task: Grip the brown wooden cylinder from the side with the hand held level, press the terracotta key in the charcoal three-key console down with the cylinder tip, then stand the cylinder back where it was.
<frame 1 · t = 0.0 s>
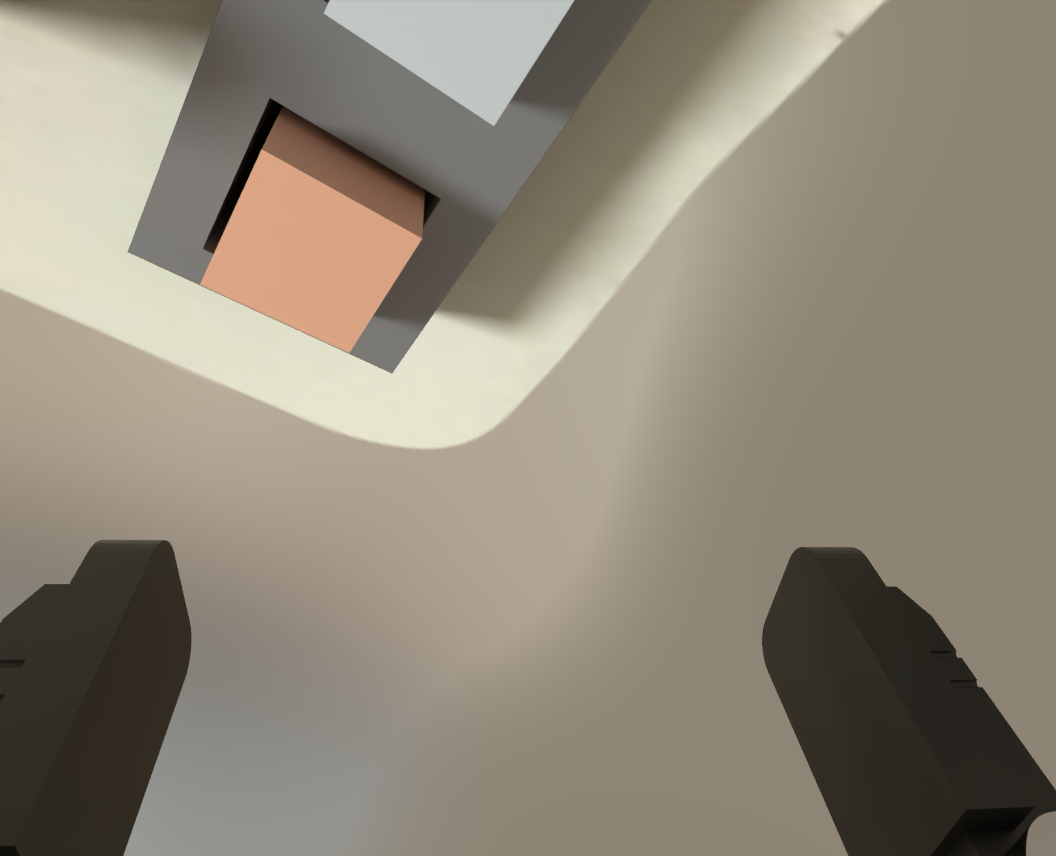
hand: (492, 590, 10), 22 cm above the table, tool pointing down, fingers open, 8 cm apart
terracotta key: (319, 227, 24), point 5 cm above the table, slide at 0.0 cm
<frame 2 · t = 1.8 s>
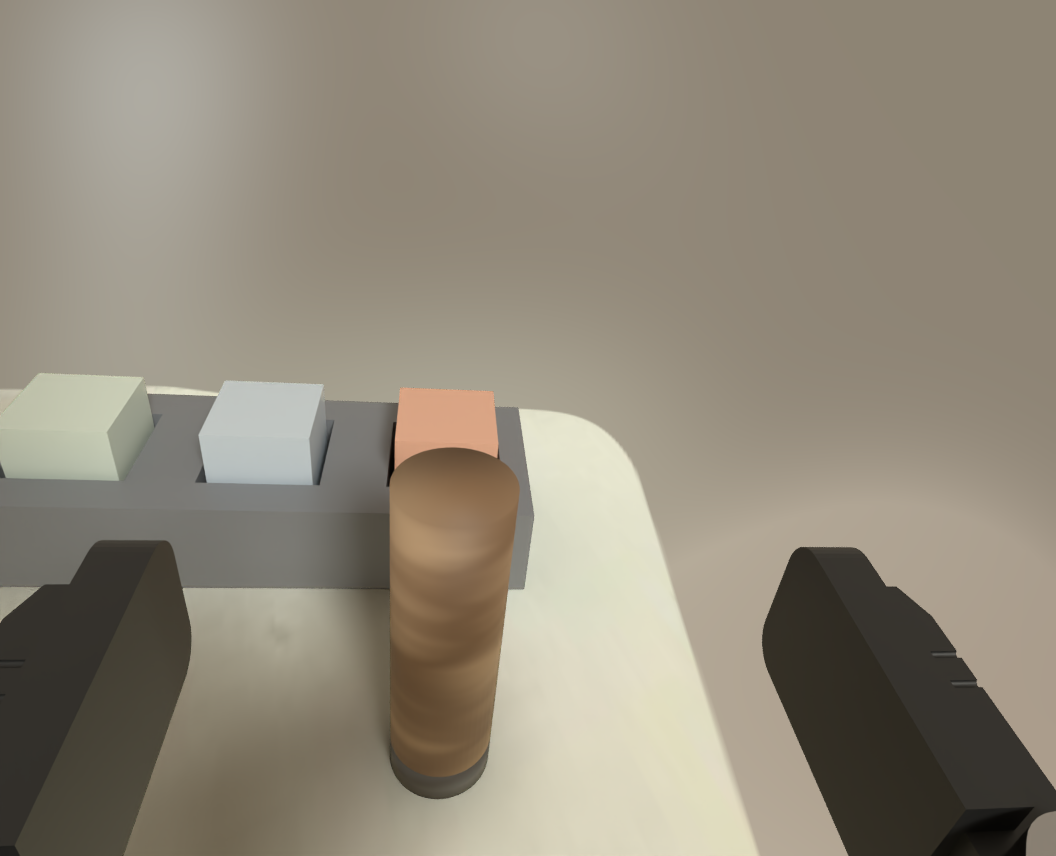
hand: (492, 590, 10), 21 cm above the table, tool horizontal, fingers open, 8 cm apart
sage key: (81, 439, 37), point 5 cm above the table, slide at 0.0 cm
key console: (278, 522, 41), on the table
terracotta key: (445, 450, 39), point 5 cm above the table, slide at 0.0 cm
brown wooden cylinder: (439, 751, 30), on the table
grey-blue key: (269, 445, 38), point 5 cm above the table, slide at 0.0 cm
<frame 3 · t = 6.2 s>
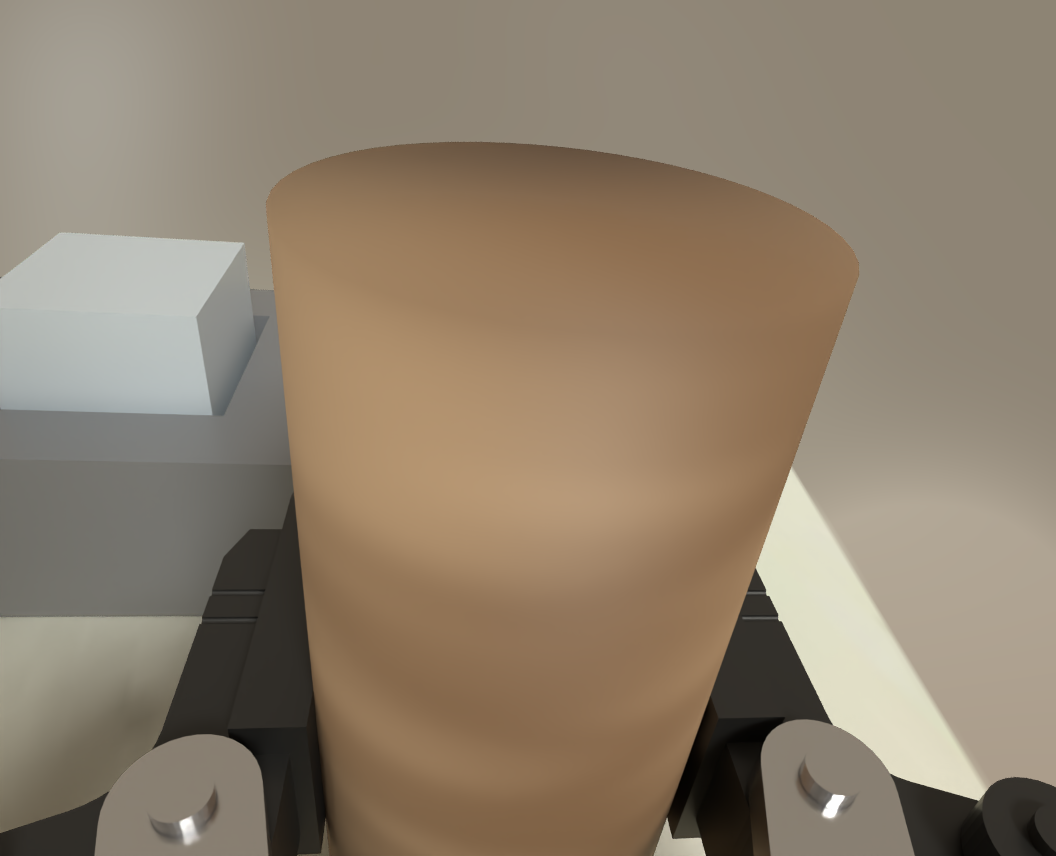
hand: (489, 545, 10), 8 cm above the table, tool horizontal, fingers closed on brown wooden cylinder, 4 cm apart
key console: (171, 496, 23), on the table
grey-blue key: (138, 348, 20), point 5 cm above the table, slide at 0.0 cm
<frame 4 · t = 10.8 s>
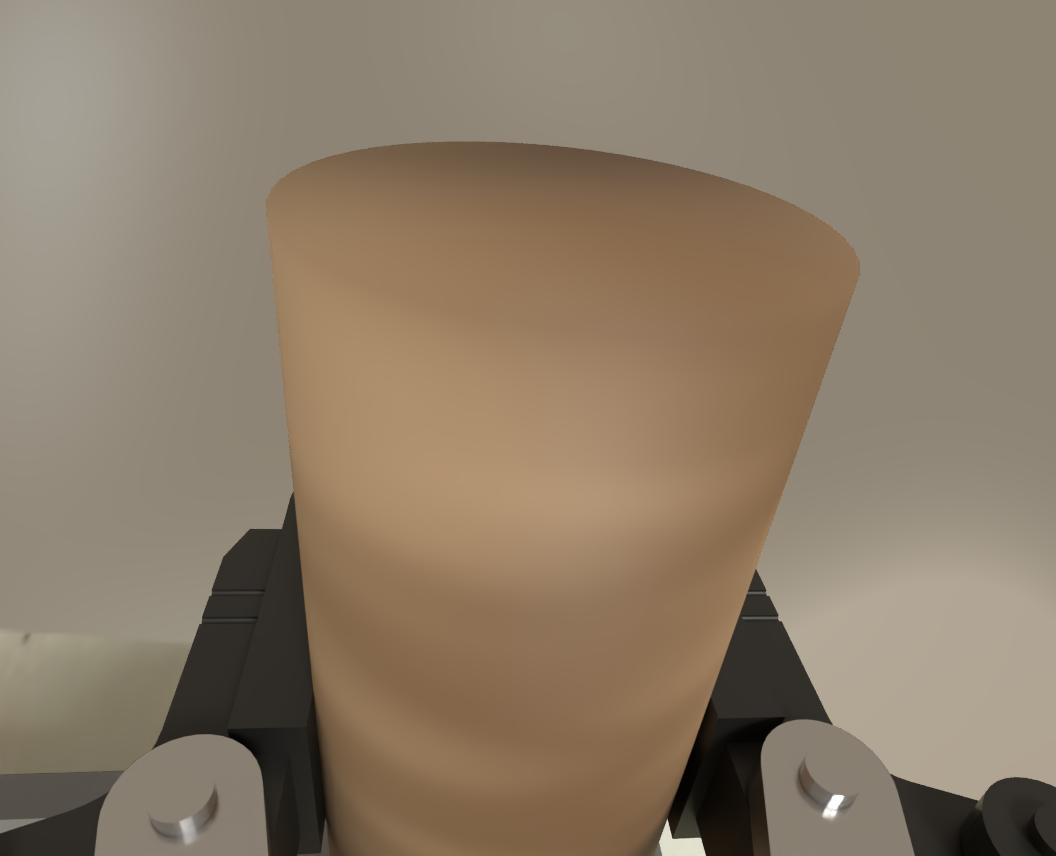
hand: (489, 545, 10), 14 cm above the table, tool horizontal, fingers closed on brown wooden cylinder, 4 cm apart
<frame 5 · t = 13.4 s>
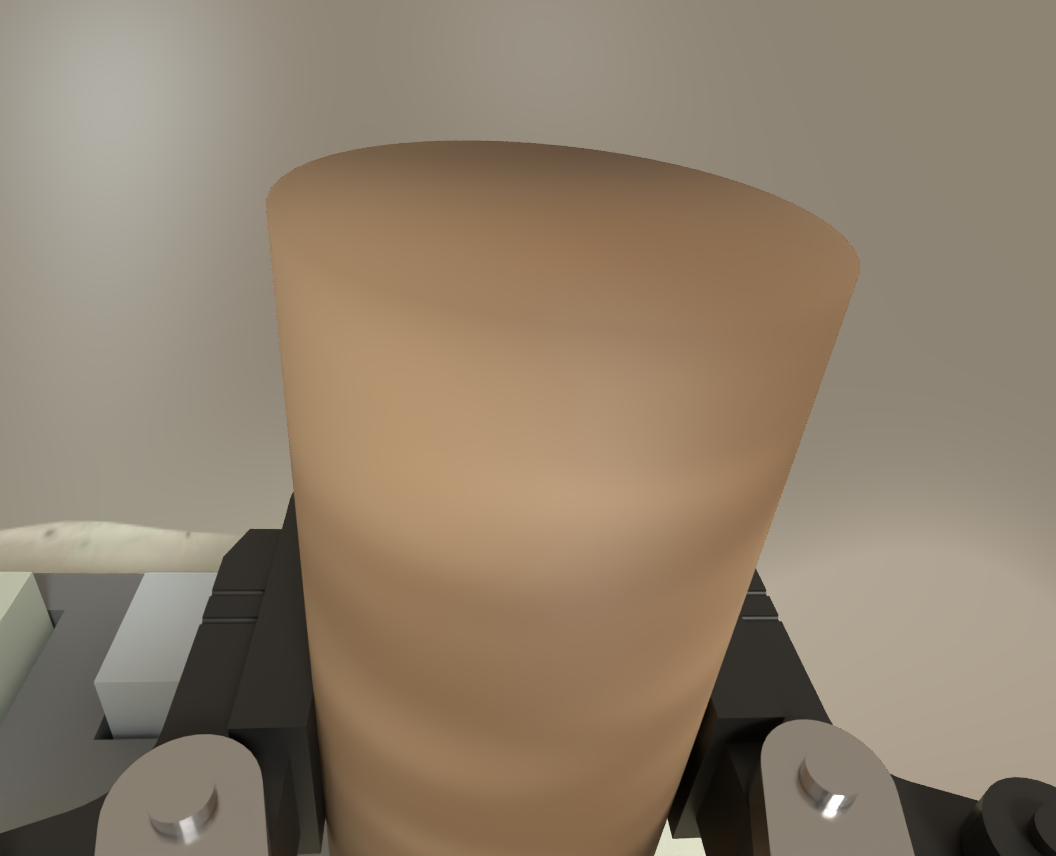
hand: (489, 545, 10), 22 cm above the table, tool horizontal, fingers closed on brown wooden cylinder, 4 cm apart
key console: (223, 746, 30), on the table
grey-blue key: (205, 663, 28), point 5 cm above the table, slide at 0.0 cm
when the fingers open (10 cm above the table, at t = 15.9 s): brown wooden cylinder drops 1 cm, on the table.
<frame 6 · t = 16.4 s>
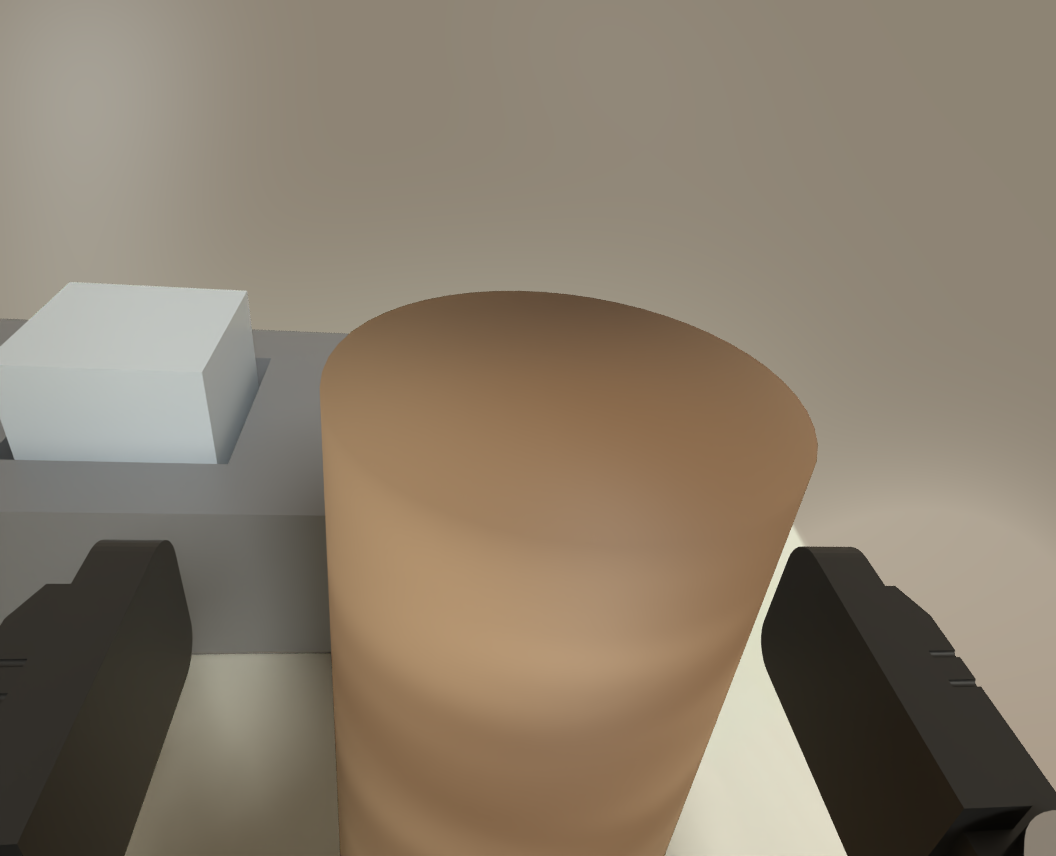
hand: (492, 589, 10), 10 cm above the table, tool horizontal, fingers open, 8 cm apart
key console: (176, 533, 24), on the table
grey-blue key: (145, 394, 21), point 5 cm above the table, slide at 0.0 cm
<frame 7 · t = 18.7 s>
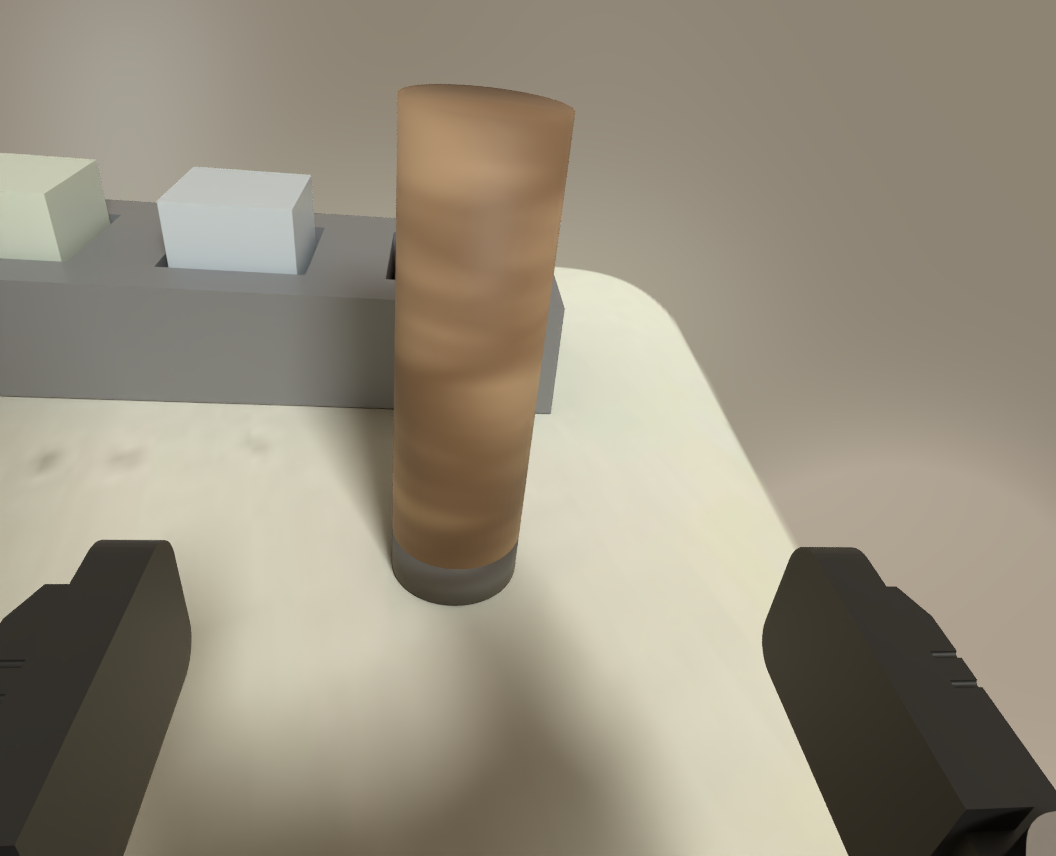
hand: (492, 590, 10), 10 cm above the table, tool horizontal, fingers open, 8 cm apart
sage key: (20, 226, 31), point 5 cm above the table, slide at 0.0 cm
key console: (258, 348, 35), on the table
brown wooden cylinder: (453, 560, 24), on the table
grey-blue key: (246, 239, 32), point 5 cm above the table, slide at 0.0 cm
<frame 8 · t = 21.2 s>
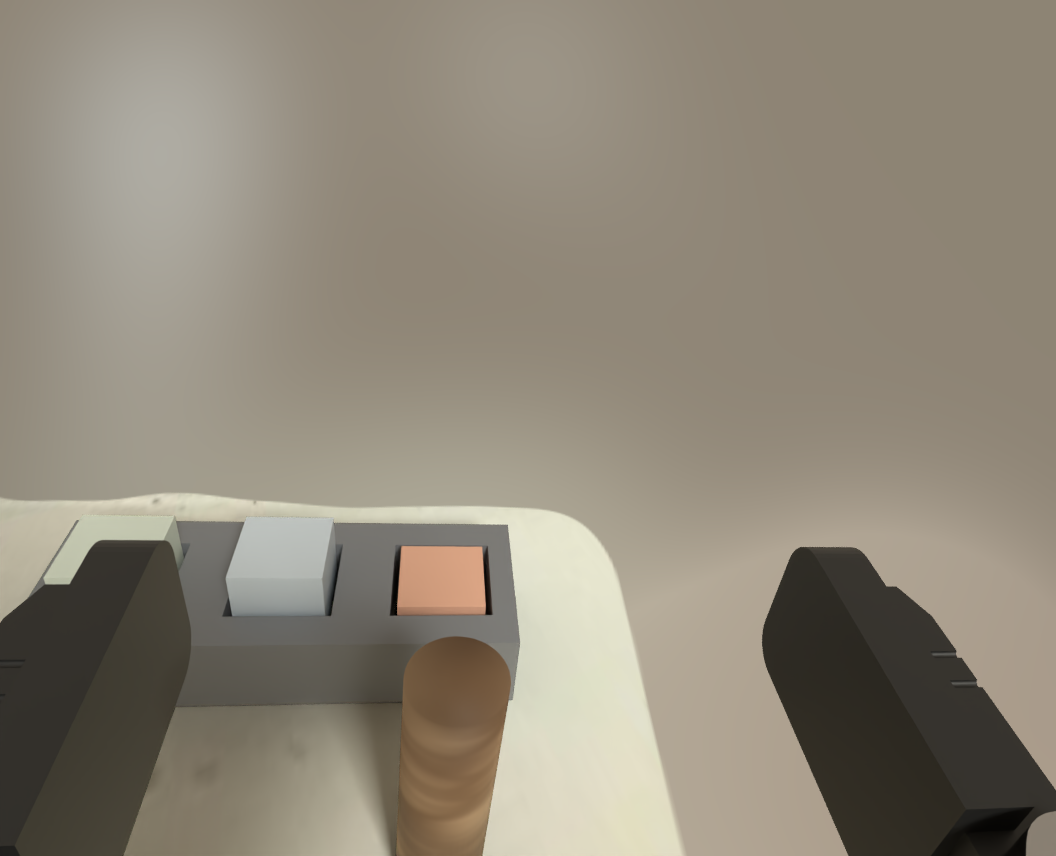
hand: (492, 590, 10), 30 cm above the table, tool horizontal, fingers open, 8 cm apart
sage key: (121, 574, 42), point 5 cm above the table, slide at 0.0 cm
key console: (293, 636, 46), on the table
terracotta key: (440, 601, 45), point 3 cm above the table, slide at 2.2 cm
grey-blue key: (286, 575, 43), point 5 cm above the table, slide at 0.0 cm
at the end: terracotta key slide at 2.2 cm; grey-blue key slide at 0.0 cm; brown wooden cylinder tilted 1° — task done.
